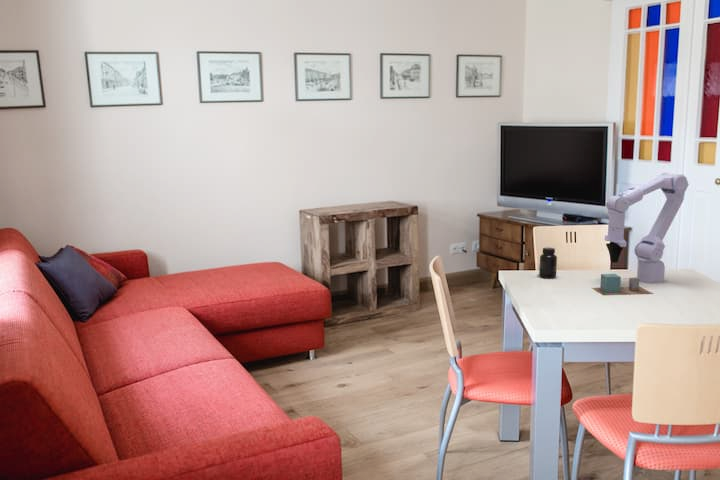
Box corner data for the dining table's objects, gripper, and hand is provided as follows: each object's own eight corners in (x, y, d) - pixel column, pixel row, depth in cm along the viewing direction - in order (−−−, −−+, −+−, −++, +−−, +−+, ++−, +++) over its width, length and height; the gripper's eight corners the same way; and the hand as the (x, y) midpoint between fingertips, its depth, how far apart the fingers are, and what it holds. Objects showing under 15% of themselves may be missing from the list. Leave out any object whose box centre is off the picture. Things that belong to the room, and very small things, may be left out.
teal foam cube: (613, 289, 250) (614, 273, 249) (619, 292, 245) (620, 276, 244) (600, 289, 250) (601, 274, 249) (606, 293, 245) (607, 277, 244)
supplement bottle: (558, 278, 271) (559, 249, 269) (541, 278, 271) (542, 250, 269) (553, 274, 277) (554, 246, 275) (537, 275, 278) (538, 246, 275)
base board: (639, 288, 254) (639, 286, 254) (653, 295, 243) (654, 293, 243) (591, 289, 253) (591, 287, 252) (603, 297, 242) (603, 295, 242)
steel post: (635, 289, 249) (636, 277, 248) (638, 291, 247) (639, 279, 246) (628, 289, 249) (629, 277, 248) (631, 291, 246) (632, 279, 246)
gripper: (598, 224, 261) (596, 258, 264) (614, 230, 247) (612, 266, 250) (615, 224, 262) (613, 257, 264) (632, 230, 248) (630, 265, 250)
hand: (614, 262), depth 257 cm, fingers closed
